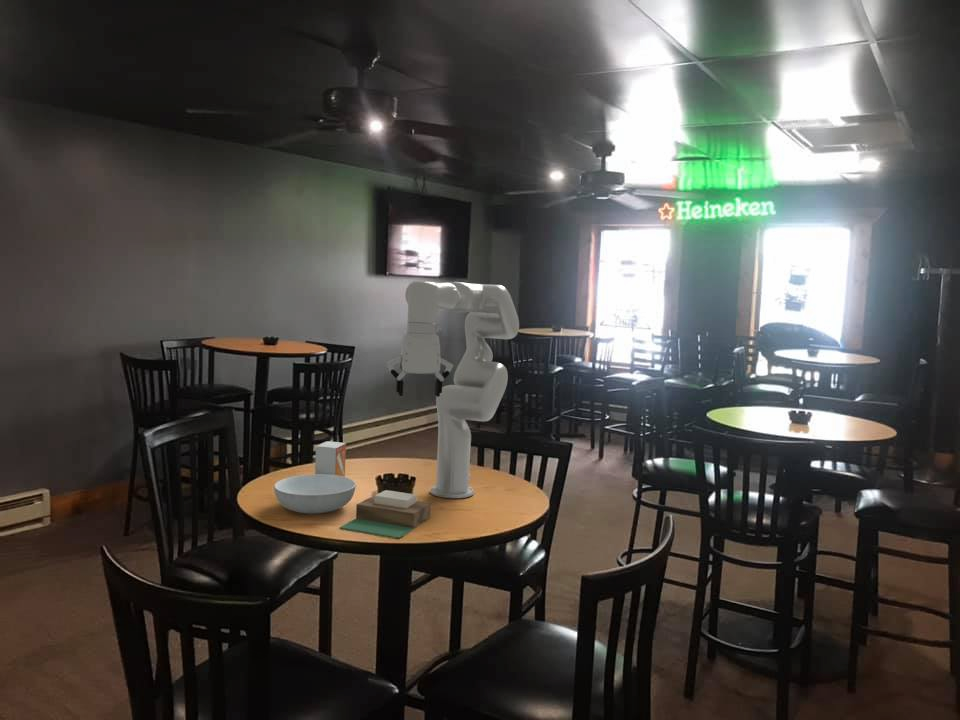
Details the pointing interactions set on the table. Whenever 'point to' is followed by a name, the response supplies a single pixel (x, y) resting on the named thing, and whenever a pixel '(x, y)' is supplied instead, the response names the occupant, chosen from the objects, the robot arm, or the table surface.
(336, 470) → the small box
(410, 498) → the light grey flat block
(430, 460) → the table surface
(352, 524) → the mat
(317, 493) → the serving bowl
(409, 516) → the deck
